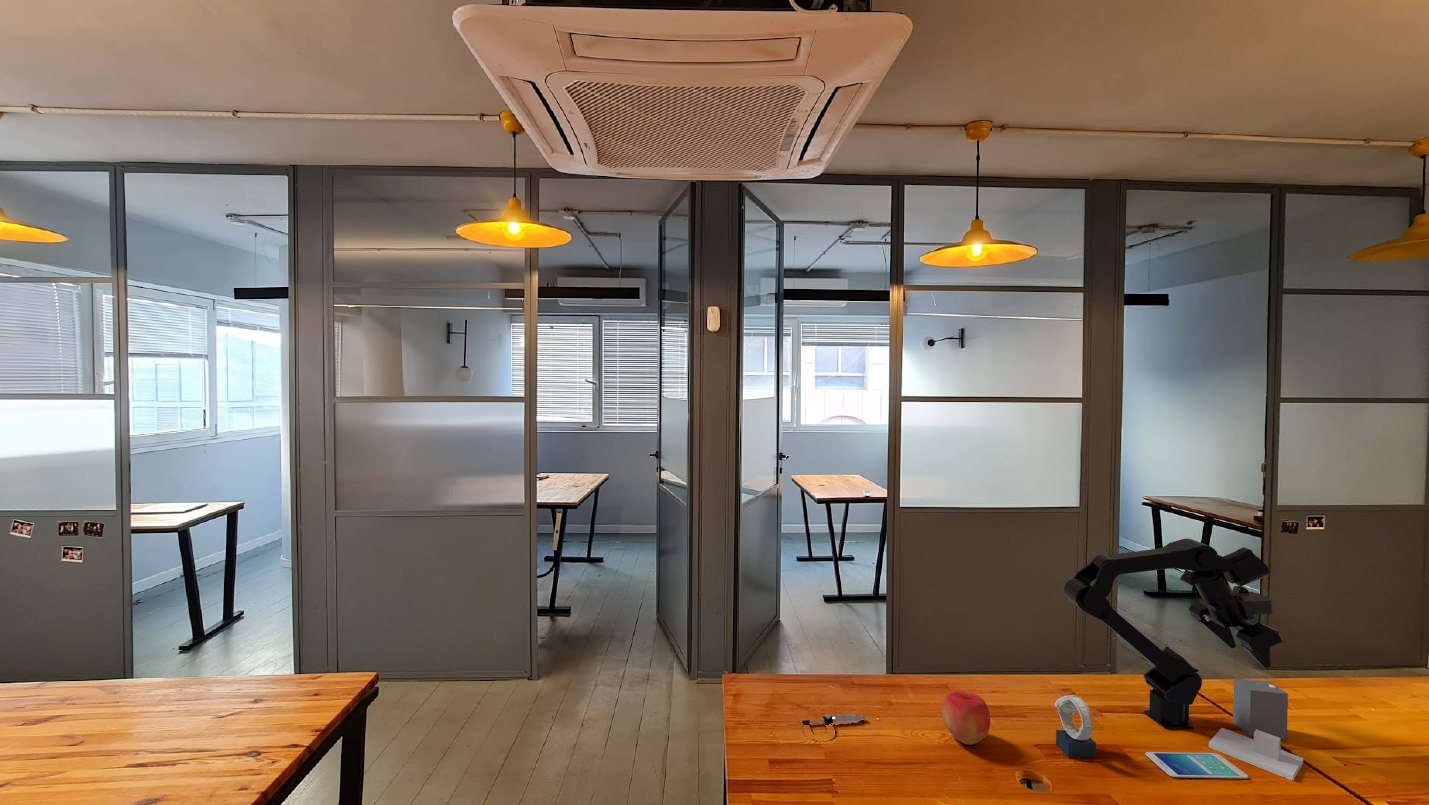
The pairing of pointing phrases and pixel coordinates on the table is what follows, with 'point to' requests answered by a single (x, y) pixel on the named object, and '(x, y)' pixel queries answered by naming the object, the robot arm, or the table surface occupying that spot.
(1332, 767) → the table surface
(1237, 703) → the gray rectangular block
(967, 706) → the apple
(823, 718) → the micrometer
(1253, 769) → the table surface
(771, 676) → the table surface
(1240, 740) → the post stand
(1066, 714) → the watch
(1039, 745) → the table surface
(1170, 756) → the smartphone
